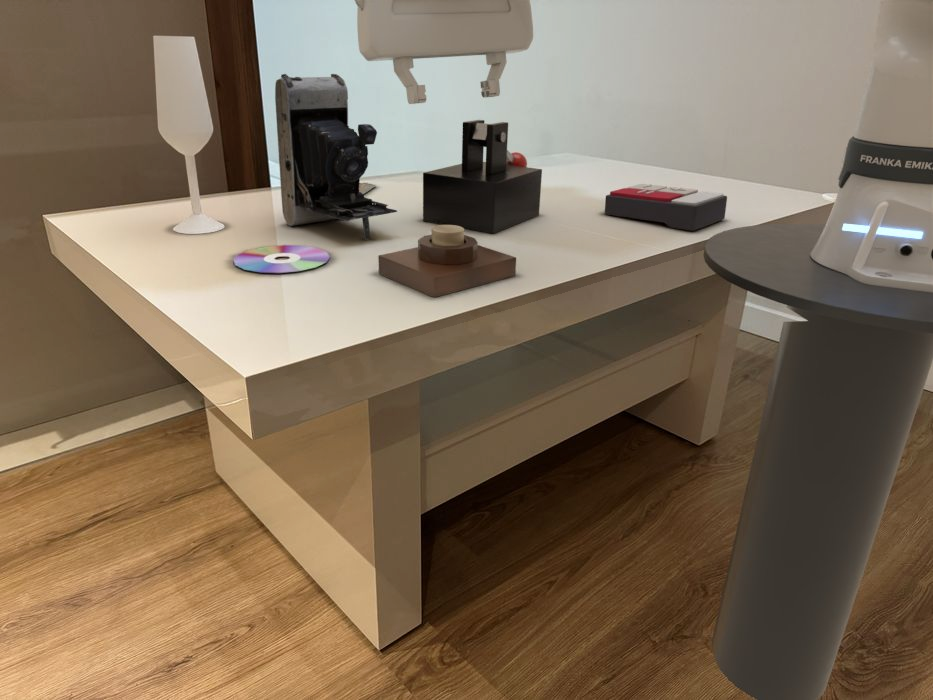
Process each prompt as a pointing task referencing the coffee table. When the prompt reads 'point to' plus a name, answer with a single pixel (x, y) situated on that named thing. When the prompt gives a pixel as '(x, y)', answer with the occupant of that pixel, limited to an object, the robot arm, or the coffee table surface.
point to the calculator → (667, 205)
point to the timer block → (446, 266)
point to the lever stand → (482, 186)
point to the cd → (267, 263)
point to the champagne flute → (184, 115)
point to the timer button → (448, 235)
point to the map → (365, 187)
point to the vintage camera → (321, 153)
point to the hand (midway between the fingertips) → (455, 100)
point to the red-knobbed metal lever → (512, 158)
